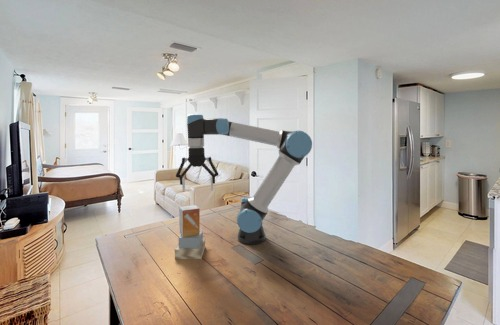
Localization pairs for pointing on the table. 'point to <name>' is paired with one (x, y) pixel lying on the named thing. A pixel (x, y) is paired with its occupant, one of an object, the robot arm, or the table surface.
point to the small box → (189, 220)
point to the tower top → (191, 241)
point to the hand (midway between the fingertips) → (198, 190)
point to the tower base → (190, 252)
